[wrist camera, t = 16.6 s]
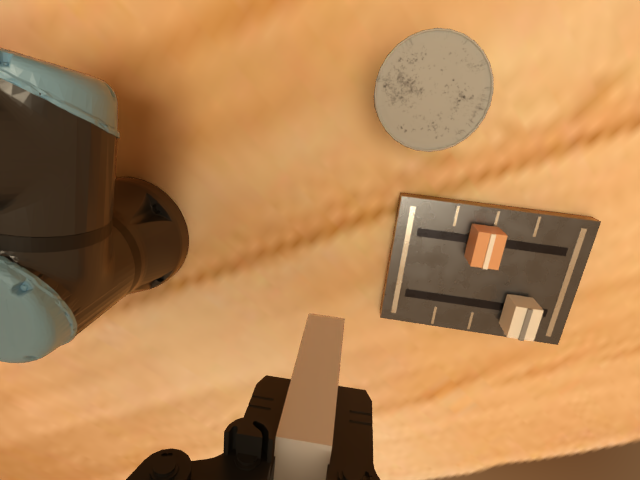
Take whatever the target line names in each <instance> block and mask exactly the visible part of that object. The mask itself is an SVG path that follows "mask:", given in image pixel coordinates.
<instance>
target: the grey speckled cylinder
mask: <svg viewBox="0 0 640 480" xmlns="http://www.w3.org/2000/svg"><path fill="white" fill-rule="evenodd" d="M492 95H493V74H492V69H491V65H490V62H489V60H488V58H487V56H486V54H485V53H484V51H483V50H482V49H481V47H480V46H479V45H478V44H477V43H476V42H475V41H474V40H472V39H471V38H469V37H468V36H466V35H465V34H463V33H460V32H457V31H455V30H452V29H442V28H434V29H428V30H423V31H420V32H418V33H416V34H413V35H411V36H409V37H407V38H406V39H405V40H403V41H402V42H400V43H399V44H398V45H397V46H396V47H395V48H394V49H393V50H392V51H391V52H390V53H389V54H388V56H387V58H386V59H385V61H384V63H383V64H382V66H381V68H380V71H379V74H378V76H377V79H376V85H375V92H374V104H375V109H376V112H377V115H378V117H379V120H380V122H381V123H382V125H383V127H384V128H385V130H386V131H387V132H388V133H389V135H390V136H391V137H392V138H393V139H394V140H396V141H397V142H399V143H400V144H402V145H404V146H405V147H408V148H411V149H414V150H418V151H428V152H430V151H439V150H444V149H447V148H449V147H452V146H455V145H457V144H458V143H460V142H462V141H463V140H465V139H466V138H467V137H469V136H470V135H471V134H472V133H473V132H474V131H475V130H476V129H477V128H478V126H479V125H480V123H481V122H482V121H483V119H484V118H485V116H486V114H487V111H488V109H489V107H490V104H491V100H492Z"/></svg>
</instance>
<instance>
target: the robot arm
mask: <svg viewBox="0 0 640 480" xmlns="http://www.w3.org/2000/svg"><path fill="white" fill-rule="evenodd" d="M117 138H120V132H119V131H118V101H117V97H116V94H115V92H114V91H113V89H112V88H111V87H110V86H109V85H108V84H107V83H106V82H104V81H103V80H101V79H98V78H96V77H93V76H90V75H87V74H84V73H81V72H77V71H74V70H71V69H68V68H65V67H62V66H58V65H55V64H52V63H49V62H46V61H42V60H39V59H36V58H32V57H29V56H26V55H23V54H20V53H16V52H13V51H10V50H7V49H3V48H0V361H2V362H8V363H25V362H30V361H34V360H37V359H40V358H42V357H44V356H46V355H48V354H49V353H50V352H52V351H53V350H55V349H56V348H58V347H59V346H61V345H64V344H66V343H69V342H70V341H71V340H72V339H73V338H74V337H75V336H76V335H77V334H78V333H80V332H81V331H82V330H83V329H85V328H86V327H87V326H88V325H90V324H91V323H92V322H93V321H94V320H96V319H97V318H98V317H99V316H101V315H102V314H103V313H104V312H106V311H107V310H108V309H109V308H111V307H112V306H113V305H114V304H116V303H117V302H118V301H119V300H121V299H122V298H123V297H124V296H126V295H127V294H131V293H135V292H140V291H144V290H148V289H152V288H154V287H157V286H159V285H161V284H162V283H164V282H165V281H167V280H168V279H169V278H170V277H171V276H173V275H174V274H175V273H176V272H177V271H178V270H179V269H180V267H181V266H182V264H183V262H184V260H185V258H186V255H187V251H188V231H187V227H186V223H185V221H184V218H183V216H182V214H181V212H180V210H179V209H178V207H177V206H176V204H175V203H174V202H173V201H172V199H171V198H170V197H169V196H168V195H167V194H165V193H164V192H163V191H162V190H160V189H159V188H158V187H156V186H154V185H152V184H150V183H148V182H146V181H143V180H140V179H136V178H130V177H120V178H115V171H116V153H117ZM344 320H345V319H343V318H337V317H330V316H323V315H316V314H309V315H308V318H307V322H306V326H305V330H304V333H303V337H302V341H301V344H300V348H299V352H298V356H297V359H296V363H295V367H294V370H293V374H292V378H291V379H285V378H279V377H273V376H265V377H264V378H263V379H262V380H261V381H259V382H258V383H257V384H256V387H255V389H254V392H253V395H252V397H251V400H250V402H249V406H248V408H247V410H246V413H245V415H244V418H240V419H237V420H235V421H234V422H232V423H231V424H229V425H228V427H227V428H226V430H225V431H224V453H223V454H221V455H219V456H217V457H214V458H210V459H205V460H197V461H191V460H190V458H189V456H188V455H187V454H186V453H184V452H183V451H181V450H177V449H165V450H161V451H158V452H156V453H153V454H152V455H150V456H149V457H148V458H147V459H145V460H144V461H143V462H142V463H141V464H140V465H139V466H138V467H137V469H136V470H135V471H134V472H133V473H132V474H131V475H130V476H129V477H128V478H127V479H126V480H380V478H379V477H378V476H377V474H376V472H375V469H374V464H373V430H372V401H371V399H370V397H369V395H368V394H367V392H366V390H360V389H354V388H348V387H342V386H338V381H339V371H340V361H341V351H342V340H343V330H344Z"/></svg>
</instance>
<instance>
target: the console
mask: <svg viewBox="0 0 640 480" xmlns="http://www.w3.org/2000/svg"><path fill="white" fill-rule="evenodd" d="M600 223H601V221H599V220H597V219H595V218H593V217H589V216H581V215H573V214H565V213H557V212H549V211H542V210H534V209H526V208H518V207H510V206H502V205H494V204H487V203H479V202H471V201H463V200H455V199H447V198H439V197H432V196H424V195H416V194H408V193H400V198H399V204H398V210H397V216H396V222H395V227H394V233H393V239H392V245H391V250H390V256H389V262H388V268H387V274H386V279H385V285H384V291H383V297H382V302H381V308H380V318H387V319H393V320H400V321H406V322H413V323H419V324H426V325H432V326H439V327H445V328H452V329H459V330H465V331H472V332H478V333H485V334H491V335H498V336H504V337H507V336H506V335H505V333H504V331H503V330H502V328H501V326H500V324H499V320H500V317H501V313H502V310H503V306H504V303H505V299H506V296H507V294H511V295H518V296H525V297H532V298H534V299H535V301H536V302H537V303H538V304H539V305H540V307H541V308H542V309H543V310H544V311H543V314H542V318H541V321H540V324H539V327H538V330H537V333H536V336H535V339H534V341H537V342H543V343H550V344H556V345H558V343H559V340H560V337H561V334H562V332H563V329H564V326H565V323H566V320H567V317H568V314H569V311H570V309H571V306H572V303H573V300H574V297H575V294H576V291H577V289H578V286H579V283H580V280H581V277H582V274H583V271H584V269H585V266H586V263H587V260H588V257H589V254H590V251H591V249H592V246H593V243H594V240H595V237H596V234H597V231H598V228H599V226H600ZM472 224H480V225H487V226H495V227H499V228H500V229H501V230H502V231H503V232H504V233H505V234H507V235H508V237H507V240H506V244H505V248H504V251H503V255H502V259H501V262H500V266H499V270H494V269H482V268H479V267H472V266H470V265H469V263H468V261H467V260H466V258H465V257H464V254H465V250H466V246H467V242H468V238H469V234H470V229H471V225H472Z"/></svg>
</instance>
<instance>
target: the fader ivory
mask: <svg viewBox="0 0 640 480" xmlns="http://www.w3.org/2000/svg"><path fill="white" fill-rule="evenodd" d="M543 311H544V310H543V309H542V308H541V307H540V305H539V304H538V303H537V302H536V301H535V299H534V298H532V297H525V296H518V295H511V294H507V296H506V299H505V303H504V306H503V310H502V313H501V317H500V320H499V324H500V326H501V328H502V330H503V331H504V333H505V335H506V336H507V337H509V338H515V339H518V340H520V341H524V340H528V341H534V339H535V336H536V333H537V330H538V327H539V324H540V321H541V318H542V314H543Z"/></svg>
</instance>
